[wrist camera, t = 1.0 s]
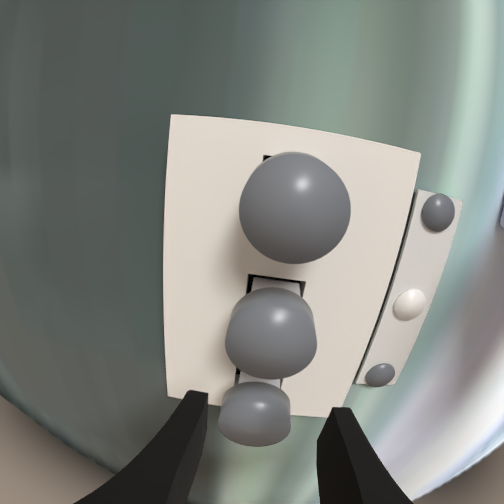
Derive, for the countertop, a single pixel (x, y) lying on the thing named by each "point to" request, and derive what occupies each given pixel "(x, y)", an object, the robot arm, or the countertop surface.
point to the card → (411, 287)
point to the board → (253, 262)
